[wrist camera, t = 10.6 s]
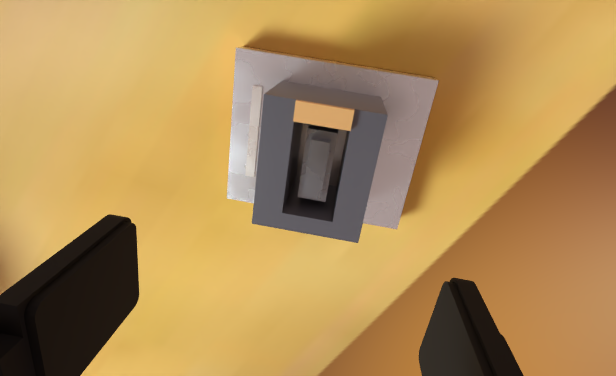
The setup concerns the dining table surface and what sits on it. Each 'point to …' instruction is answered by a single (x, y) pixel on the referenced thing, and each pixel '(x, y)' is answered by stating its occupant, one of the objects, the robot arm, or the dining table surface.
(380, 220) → the post
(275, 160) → the gray rectangular sleeve
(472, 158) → the dining table surface
